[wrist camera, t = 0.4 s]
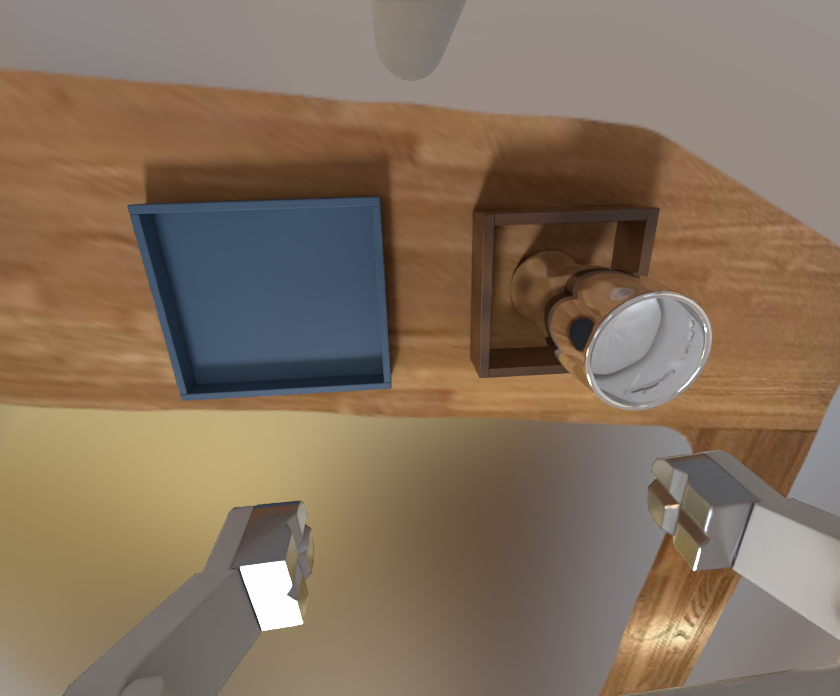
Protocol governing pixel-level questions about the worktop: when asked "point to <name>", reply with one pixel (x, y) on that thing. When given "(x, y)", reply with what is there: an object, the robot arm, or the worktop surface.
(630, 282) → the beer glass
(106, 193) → the worktop surface
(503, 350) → the wooden square box
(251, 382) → the tray
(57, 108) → the worktop surface
